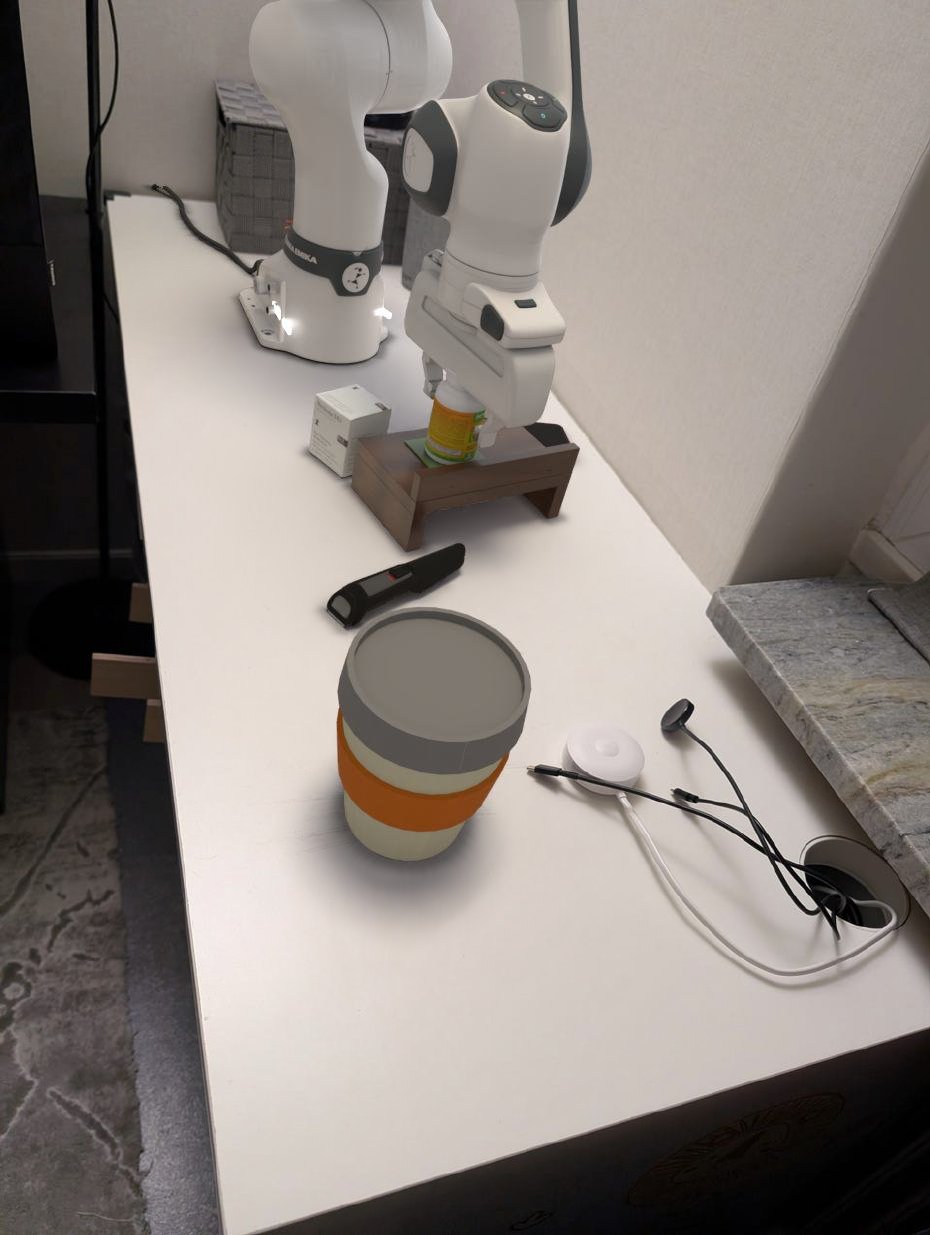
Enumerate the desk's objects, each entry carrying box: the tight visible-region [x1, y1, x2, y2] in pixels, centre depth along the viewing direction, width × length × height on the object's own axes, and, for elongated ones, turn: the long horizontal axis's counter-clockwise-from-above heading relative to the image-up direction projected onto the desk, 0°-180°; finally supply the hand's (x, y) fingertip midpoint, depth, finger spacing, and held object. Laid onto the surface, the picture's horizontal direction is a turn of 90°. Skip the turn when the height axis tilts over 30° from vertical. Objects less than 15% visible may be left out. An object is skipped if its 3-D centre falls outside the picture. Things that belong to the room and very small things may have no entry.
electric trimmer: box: [326, 542, 467, 627], centre depth 85 cm, size 4×16×3 cm, turn 134°
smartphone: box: [484, 417, 571, 447], centre depth 111 cm, size 7×1×15 cm
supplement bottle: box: [425, 367, 486, 465], centre depth 91 cm, size 5×5×10 cm
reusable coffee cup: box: [336, 606, 532, 862], centre depth 62 cm, size 13×13×15 cm
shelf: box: [350, 419, 581, 553], centre depth 96 cm, size 12×20×9 cm, turn 123°
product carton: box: [308, 383, 393, 478], centre depth 98 cm, size 6×6×7 cm
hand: (457, 419), depth 92 cm, fingers open, 8 cm apart
